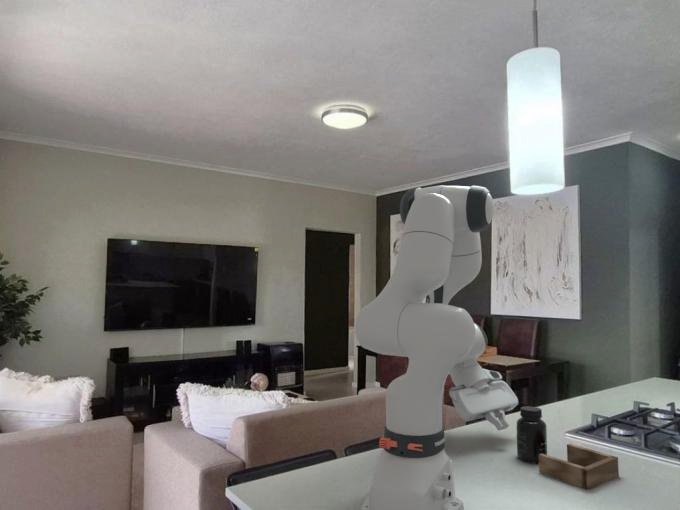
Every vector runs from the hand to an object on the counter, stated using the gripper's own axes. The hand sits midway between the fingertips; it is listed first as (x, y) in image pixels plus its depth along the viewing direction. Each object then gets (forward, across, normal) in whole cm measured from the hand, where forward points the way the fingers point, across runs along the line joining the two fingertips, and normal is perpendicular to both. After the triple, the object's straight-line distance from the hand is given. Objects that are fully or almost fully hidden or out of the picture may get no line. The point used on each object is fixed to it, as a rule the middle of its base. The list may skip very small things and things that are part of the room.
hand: (504, 428), depth 125 cm
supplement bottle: (+10, 0, -2) cm, 10 cm away
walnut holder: (+18, 0, -10) cm, 21 cm away
